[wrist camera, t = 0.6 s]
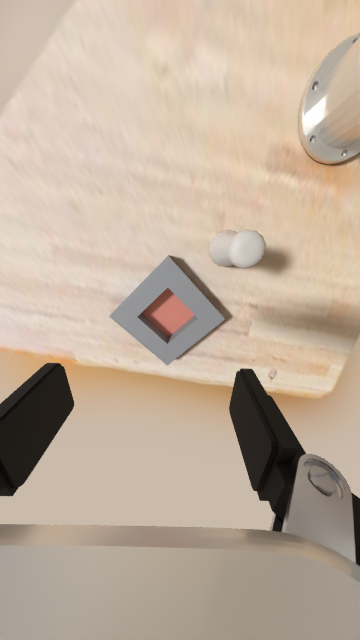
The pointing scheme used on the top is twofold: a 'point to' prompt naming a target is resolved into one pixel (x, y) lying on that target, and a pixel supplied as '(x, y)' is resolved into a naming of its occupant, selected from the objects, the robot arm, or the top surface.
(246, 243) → the white bulbous peg
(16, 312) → the top surface
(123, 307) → the socket board
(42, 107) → the top surface
